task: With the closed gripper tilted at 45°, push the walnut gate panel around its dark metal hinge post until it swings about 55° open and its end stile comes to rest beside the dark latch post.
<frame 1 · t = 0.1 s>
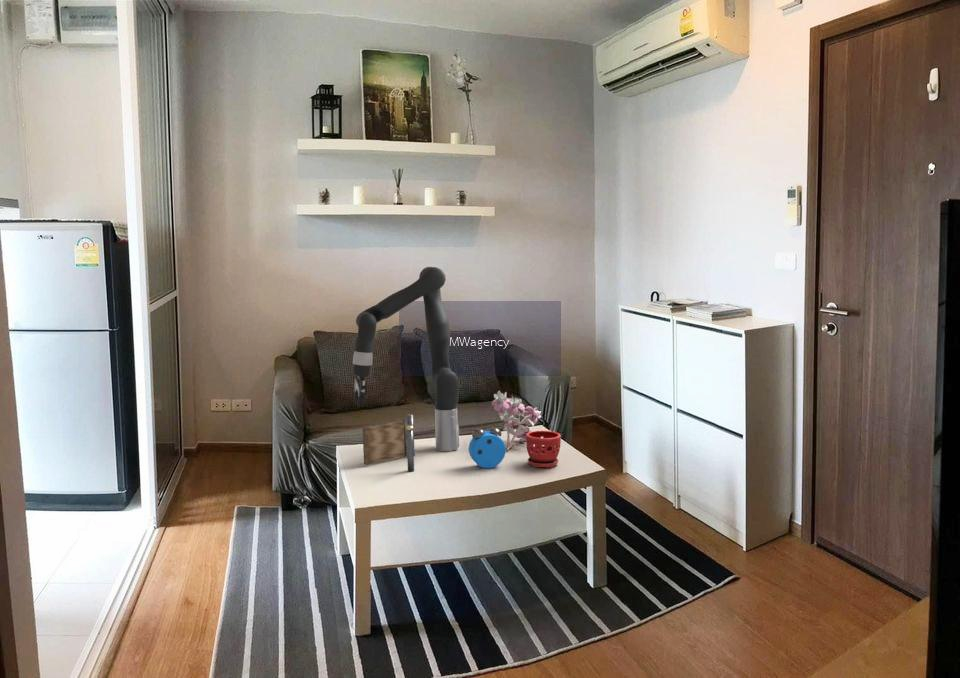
hand: (358, 403, 280), 22 cm above the table, tool pointing down, fingers open, 8 cm apart
gate: (385, 441, 277), point 8 cm above the table, hinge at 0.0°
latch post: (410, 470, 267), on the table
plant pot: (543, 464, 272), on the table
flower: (516, 444, 301), on the table
hinge post: (411, 456, 285), on the table
alarm clock: (487, 467, 270), on the table
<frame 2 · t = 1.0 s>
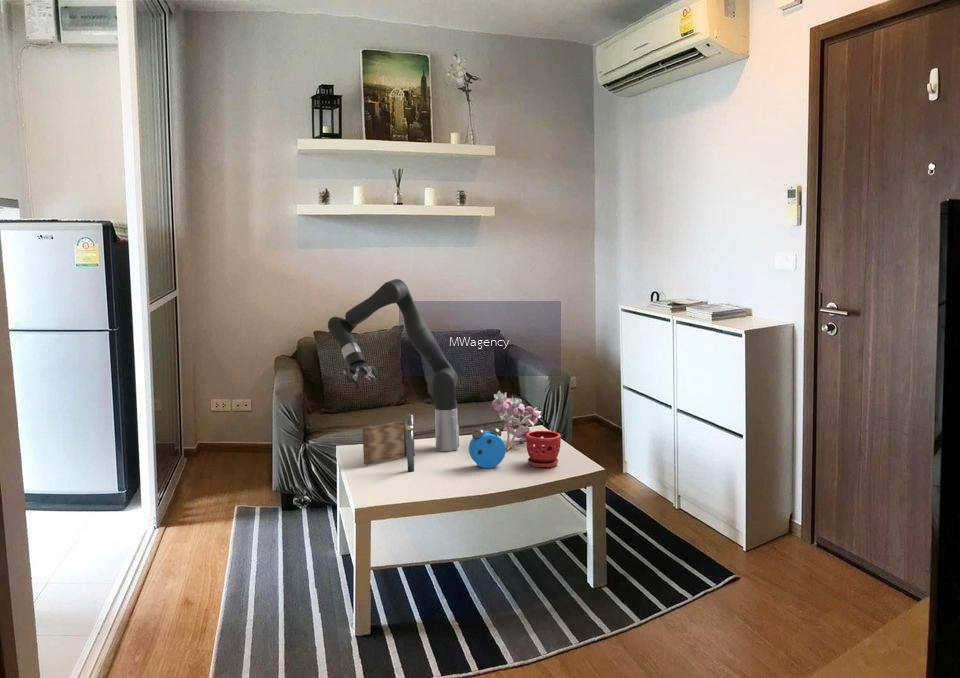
hand: (367, 388, 289), 27 cm above the table, tool tilted 45°, fingers open, 7 cm apart
nothing on the table moved.
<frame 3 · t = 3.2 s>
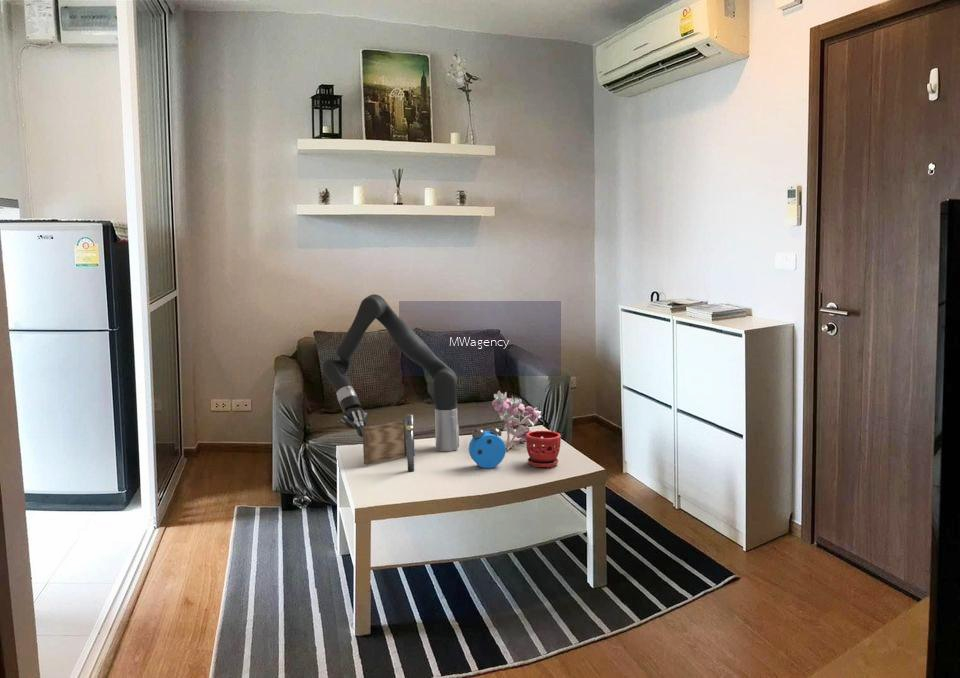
hand: (363, 435, 281), 10 cm above the table, tool tilted 45°, fingers closed
nothing on the table moved.
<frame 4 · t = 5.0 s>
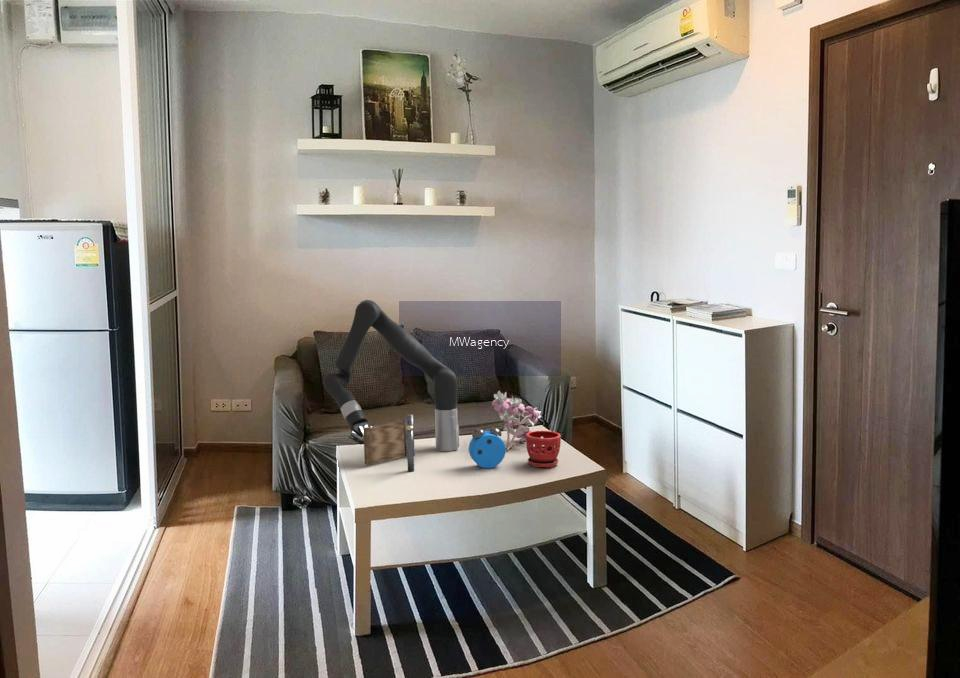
hand: (373, 450, 275), 5 cm above the table, tool tilted 45°, fingers closed
gate: (386, 441, 277), point 8 cm above the table, hinge at 2.4°, touching gripper
everything else where it was.
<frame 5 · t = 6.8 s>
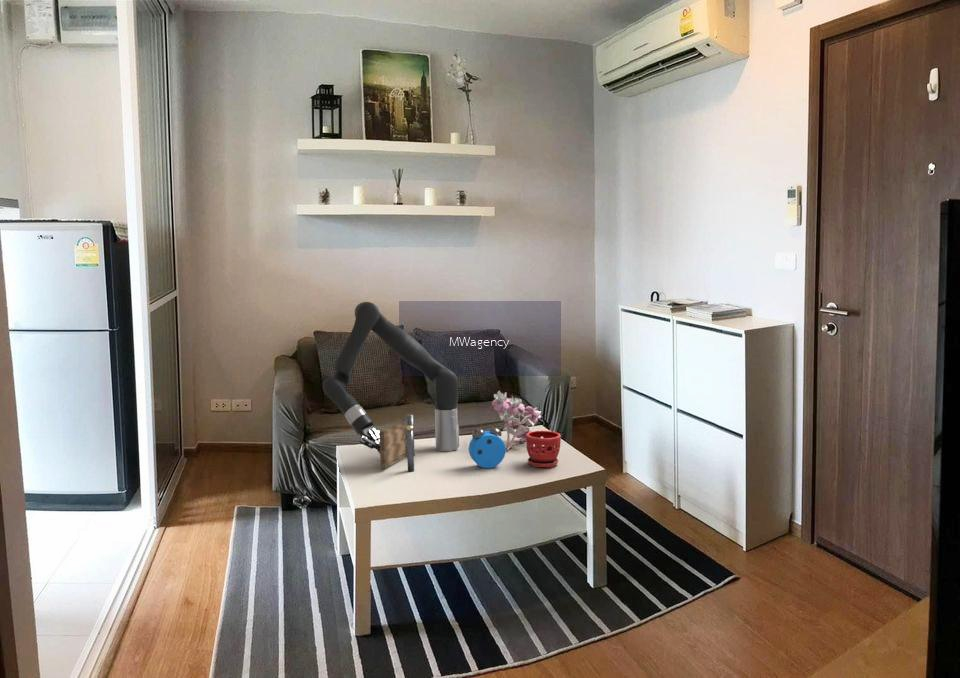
hand: (385, 454, 270), 5 cm above the table, tool tilted 45°, fingers closed
gate: (394, 443, 274), point 8 cm above the table, hinge at 31.5°, touching gripper
everything else where it was.
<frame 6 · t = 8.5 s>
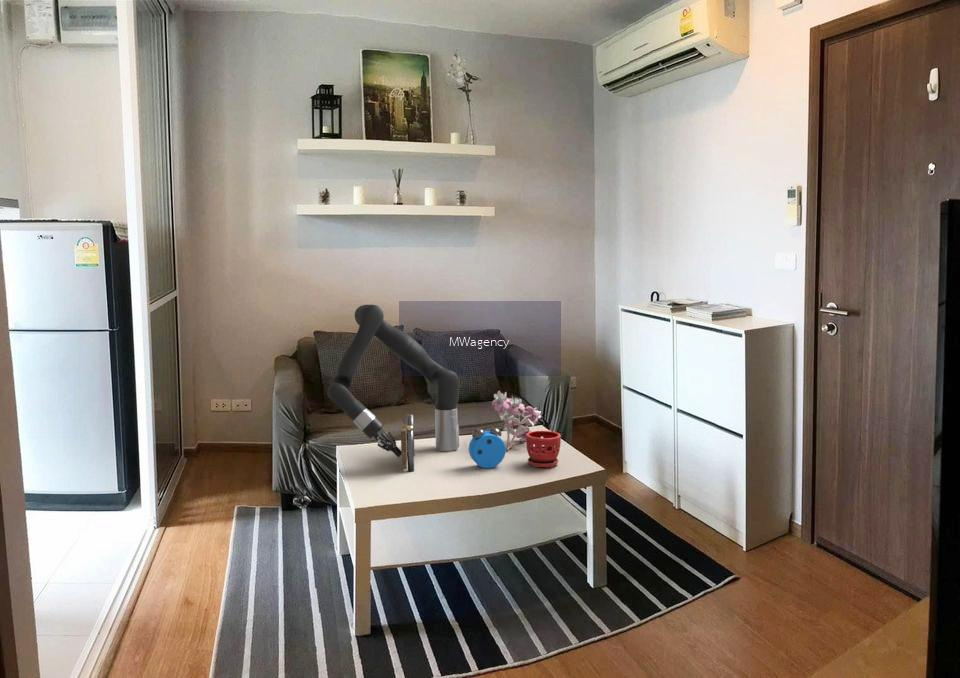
hand: (400, 455, 269), 5 cm above the table, tool tilted 45°, fingers closed
gate: (404, 443, 274), point 8 cm above the table, hinge at 58.0°, touching gripper
everything else where it was.
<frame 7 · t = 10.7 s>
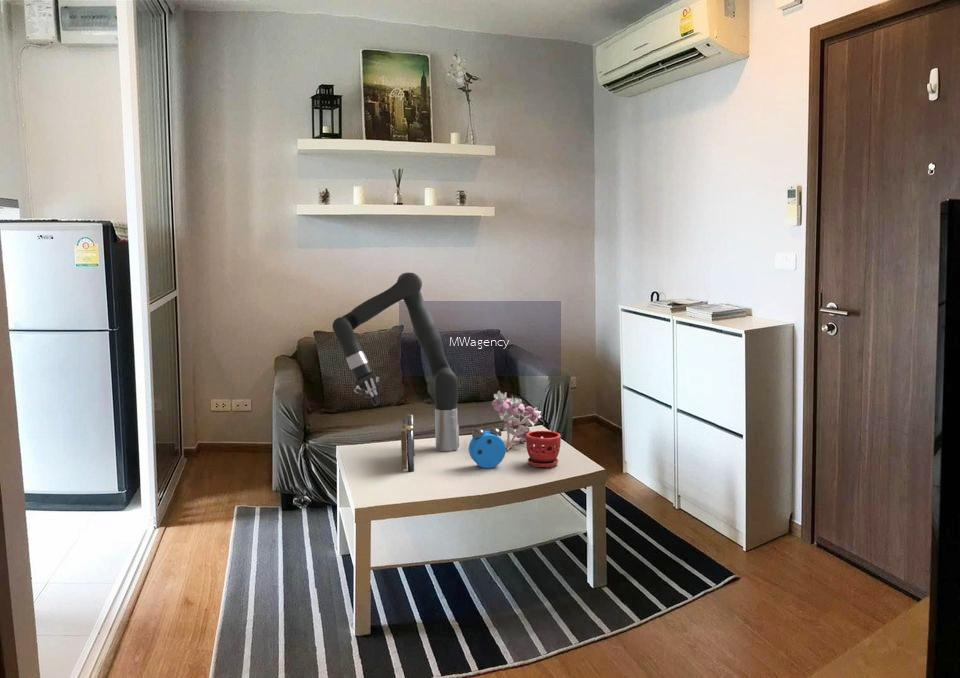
hand: (377, 404, 279), 22 cm above the table, tool tilted 25°, fingers closed
gate: (404, 443, 274), point 8 cm above the table, hinge at 58.1°
everything else where it was.
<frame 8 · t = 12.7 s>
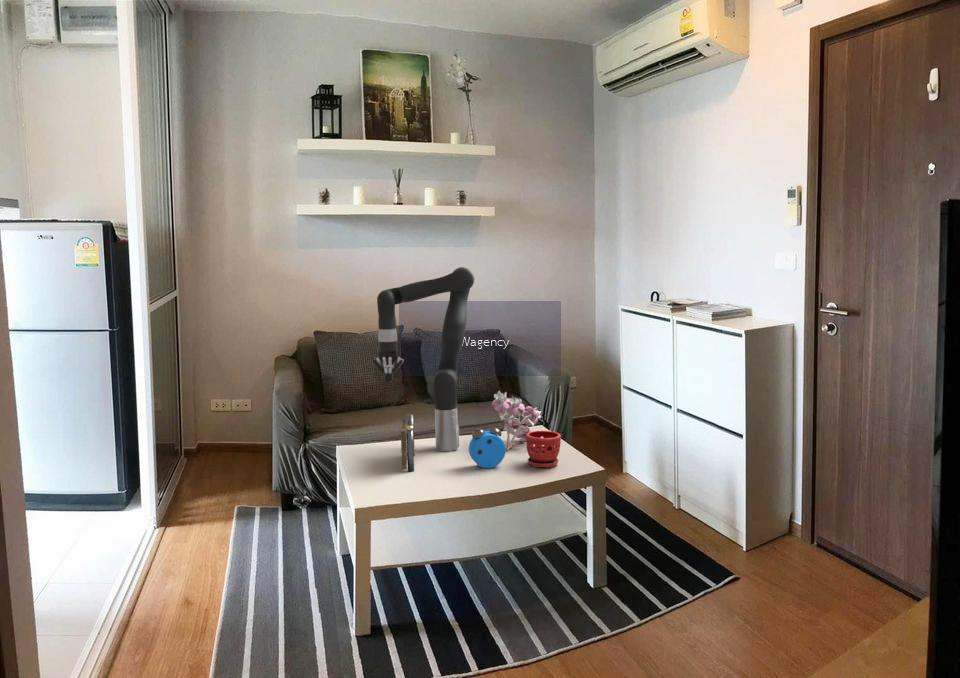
hand: (389, 382, 288), 29 cm above the table, tool pointing down, fingers closed
nothing on the table moved.
at the end: gate at +58° (first picture: +0°); alarm clock moved 0.2 cm from its start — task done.
